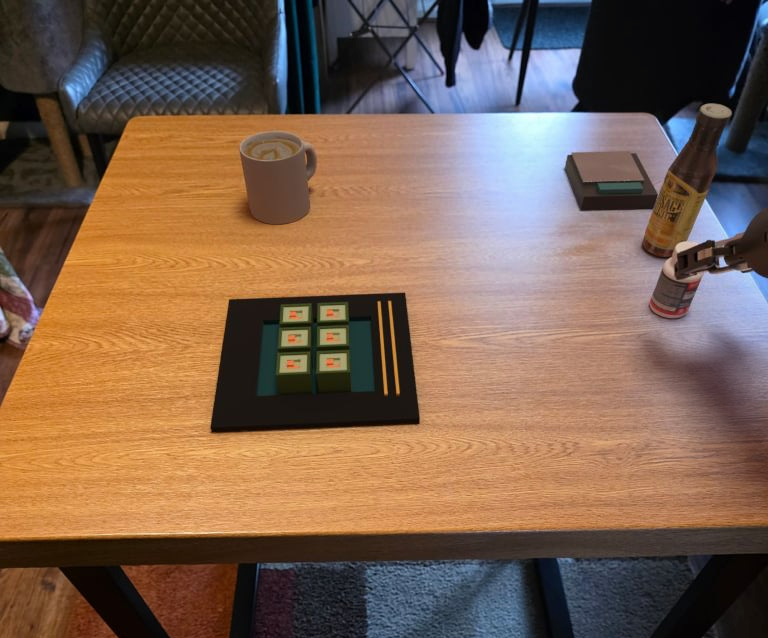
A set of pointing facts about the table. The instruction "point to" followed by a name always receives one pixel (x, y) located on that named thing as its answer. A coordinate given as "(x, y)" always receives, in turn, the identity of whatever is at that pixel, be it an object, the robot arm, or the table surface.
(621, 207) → the scale
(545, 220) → the table surface
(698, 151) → the sauce bottle
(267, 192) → the coffee mug
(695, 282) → the pill bottle
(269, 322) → the sushi
